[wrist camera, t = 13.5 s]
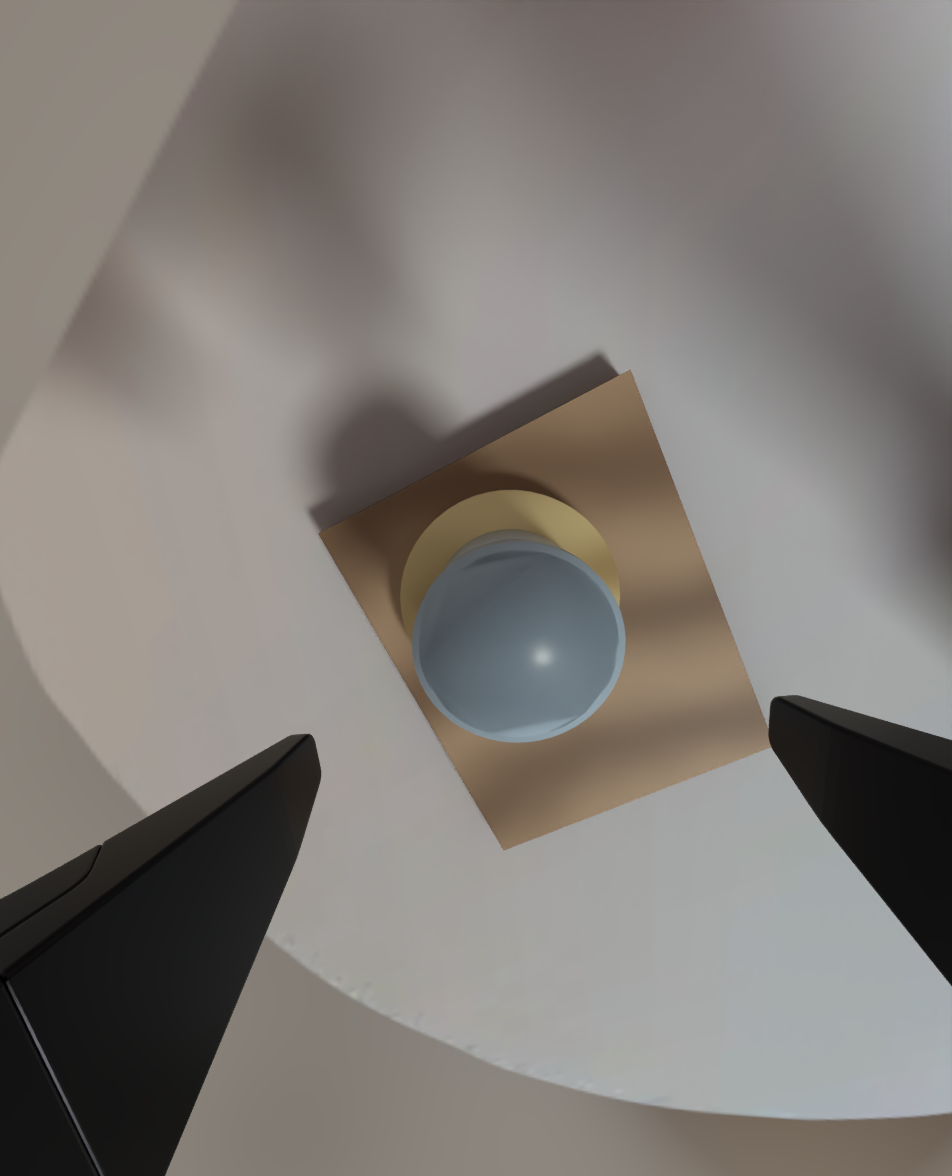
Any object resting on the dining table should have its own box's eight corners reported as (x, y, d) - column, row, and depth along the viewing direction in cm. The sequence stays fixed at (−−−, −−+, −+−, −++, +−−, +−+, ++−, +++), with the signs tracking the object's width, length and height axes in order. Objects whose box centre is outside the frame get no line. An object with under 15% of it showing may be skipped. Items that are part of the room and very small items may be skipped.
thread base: (759, 731, 22) (788, 759, 20) (502, 831, 24) (504, 867, 21) (621, 376, 18) (639, 363, 16) (328, 530, 20) (308, 536, 18)
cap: (432, 671, 19) (413, 739, 14) (431, 521, 17) (410, 540, 12) (581, 676, 19) (614, 746, 14) (595, 526, 17) (637, 545, 12)
